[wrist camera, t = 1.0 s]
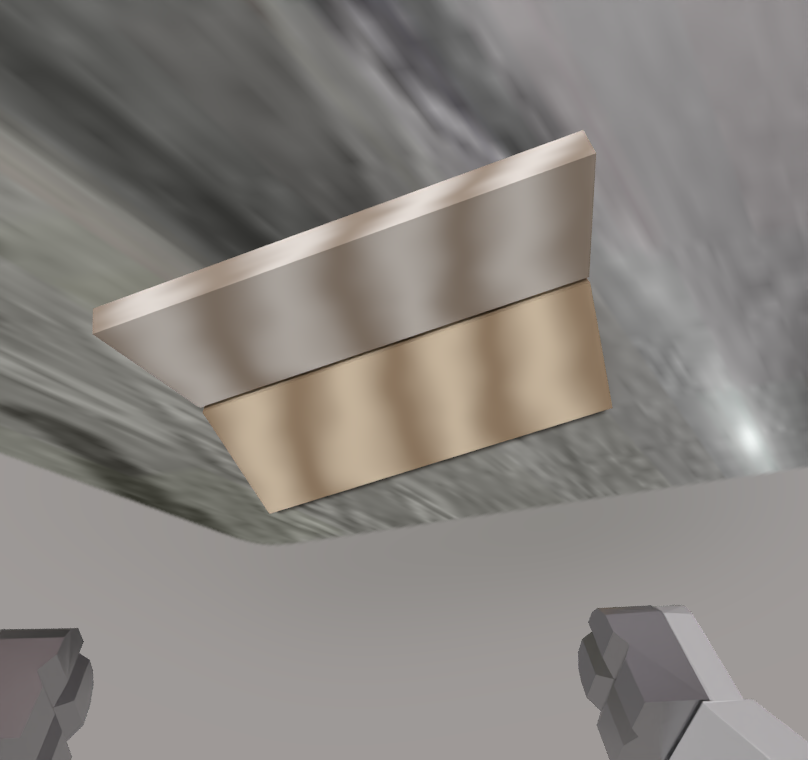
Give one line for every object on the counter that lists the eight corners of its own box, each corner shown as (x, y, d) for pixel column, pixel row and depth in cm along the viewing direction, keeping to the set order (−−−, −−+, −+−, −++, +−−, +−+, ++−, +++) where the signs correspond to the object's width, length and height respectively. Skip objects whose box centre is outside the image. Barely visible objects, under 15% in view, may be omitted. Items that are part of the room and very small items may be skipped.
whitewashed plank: (583, 130, 28) (596, 153, 27) (579, 256, 37) (588, 276, 36) (93, 308, 31) (92, 333, 30) (198, 386, 40) (199, 407, 39)
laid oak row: (581, 272, 38) (590, 282, 36) (604, 395, 43) (612, 407, 42) (207, 398, 41) (202, 412, 39) (271, 498, 46) (269, 513, 44)
